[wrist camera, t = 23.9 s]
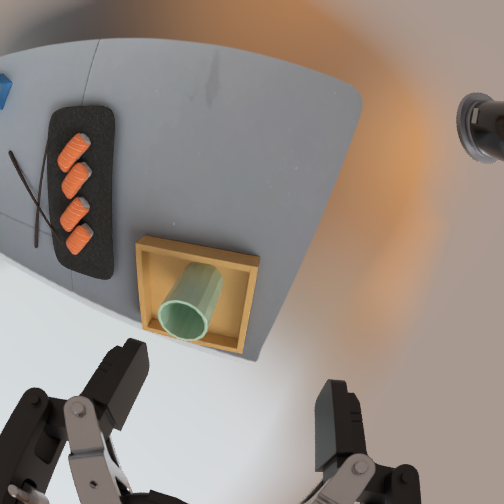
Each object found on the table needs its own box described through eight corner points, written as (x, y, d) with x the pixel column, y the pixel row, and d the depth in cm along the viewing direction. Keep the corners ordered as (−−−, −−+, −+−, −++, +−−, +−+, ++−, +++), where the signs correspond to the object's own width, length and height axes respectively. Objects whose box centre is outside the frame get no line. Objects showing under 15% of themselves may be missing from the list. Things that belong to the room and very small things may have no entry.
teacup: (225, 266, 41) (209, 307, 32) (221, 302, 44) (206, 345, 35) (182, 257, 41) (156, 294, 32) (182, 293, 44) (159, 334, 35)
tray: (260, 256, 40) (258, 267, 37) (244, 341, 48) (241, 353, 45) (144, 234, 41) (135, 243, 38) (149, 319, 48) (142, 329, 45)
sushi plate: (119, 278, 45) (109, 290, 42) (19, 245, 46) (8, 252, 42) (123, 104, 32) (109, 104, 29) (11, 114, 33) (-2, 117, 29)
